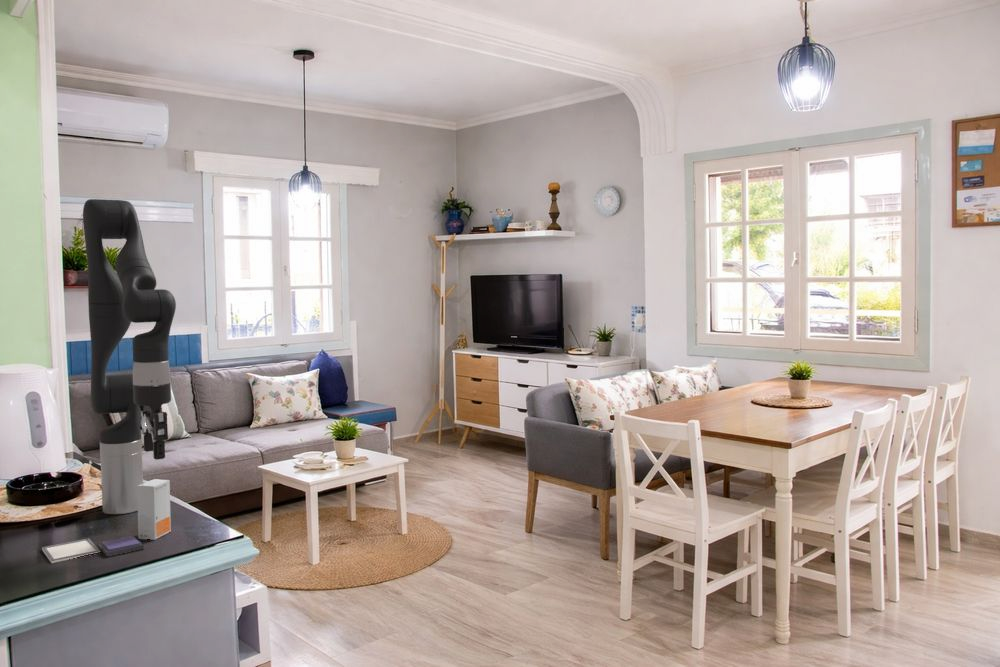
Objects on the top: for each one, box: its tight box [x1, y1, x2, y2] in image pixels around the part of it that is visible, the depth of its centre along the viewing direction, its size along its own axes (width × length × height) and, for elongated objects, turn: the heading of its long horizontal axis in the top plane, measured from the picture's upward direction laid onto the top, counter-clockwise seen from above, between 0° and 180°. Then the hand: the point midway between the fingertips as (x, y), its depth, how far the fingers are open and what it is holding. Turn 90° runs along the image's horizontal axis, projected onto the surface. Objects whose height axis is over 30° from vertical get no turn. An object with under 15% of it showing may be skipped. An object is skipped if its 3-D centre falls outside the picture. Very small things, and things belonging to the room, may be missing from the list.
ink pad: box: [98, 535, 144, 557], centre depth 168 cm, size 7×7×1 cm
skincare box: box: [137, 478, 172, 541], centre depth 176 cm, size 6×4×12 cm
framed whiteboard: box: [41, 537, 101, 564], centre depth 167 cm, size 10×9×1 cm
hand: (154, 454), depth 175 cm, fingers open, 8 cm apart
